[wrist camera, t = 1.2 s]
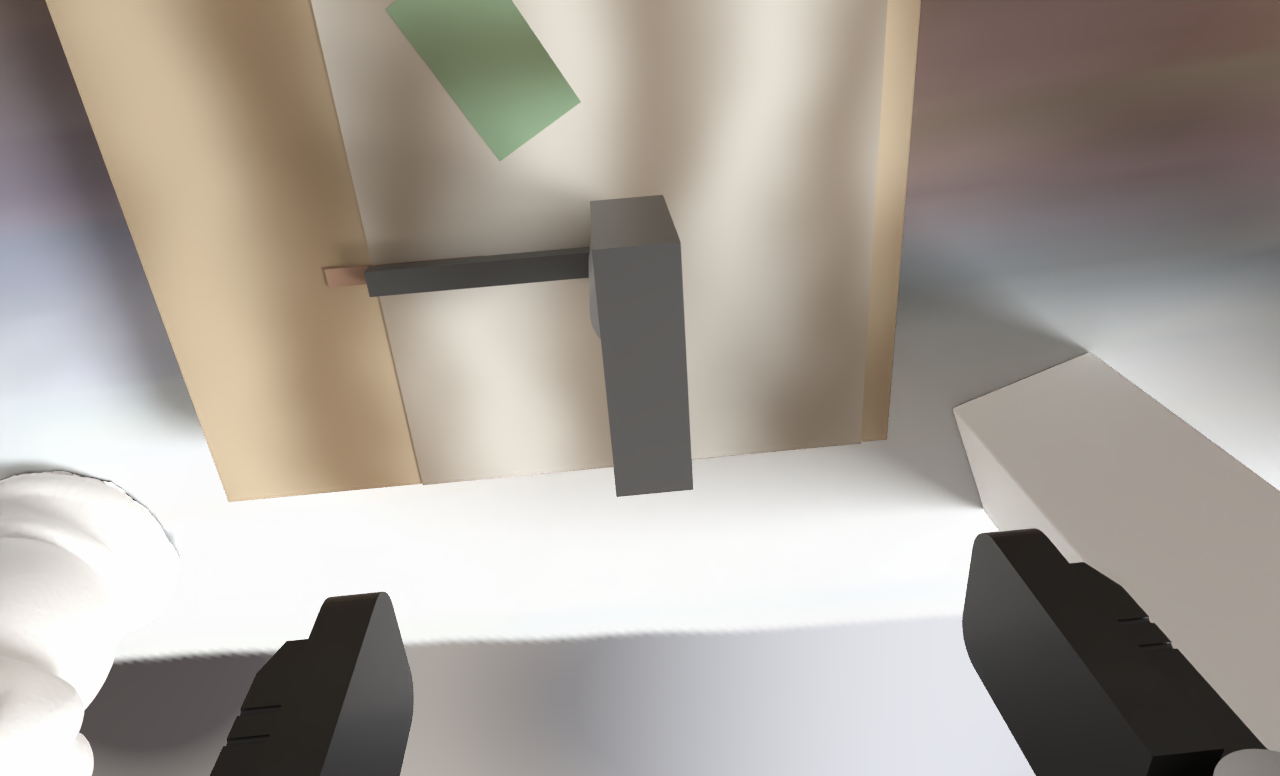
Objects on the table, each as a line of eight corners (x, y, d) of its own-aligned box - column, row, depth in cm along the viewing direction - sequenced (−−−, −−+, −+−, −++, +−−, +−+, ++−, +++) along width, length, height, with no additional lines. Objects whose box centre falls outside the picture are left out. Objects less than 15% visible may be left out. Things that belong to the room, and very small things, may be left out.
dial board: (882, -124, 25) (933, -141, 22) (854, 389, 33) (887, 440, 30) (101, -63, 25) (17, -70, 21) (266, 444, 33) (227, 503, 29)
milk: (949, 406, 34) (1443, 984, 14) (1092, 348, 33) (1821, 878, 14) (983, 513, 37) (1440, 1125, 17) (1116, 461, 36) (1758, 1043, 16)
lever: (657, 154, 24) (695, 240, 16) (669, 337, 27) (705, 488, 19) (350, 180, 24) (235, 281, 16) (392, 362, 27) (312, 526, 19)
